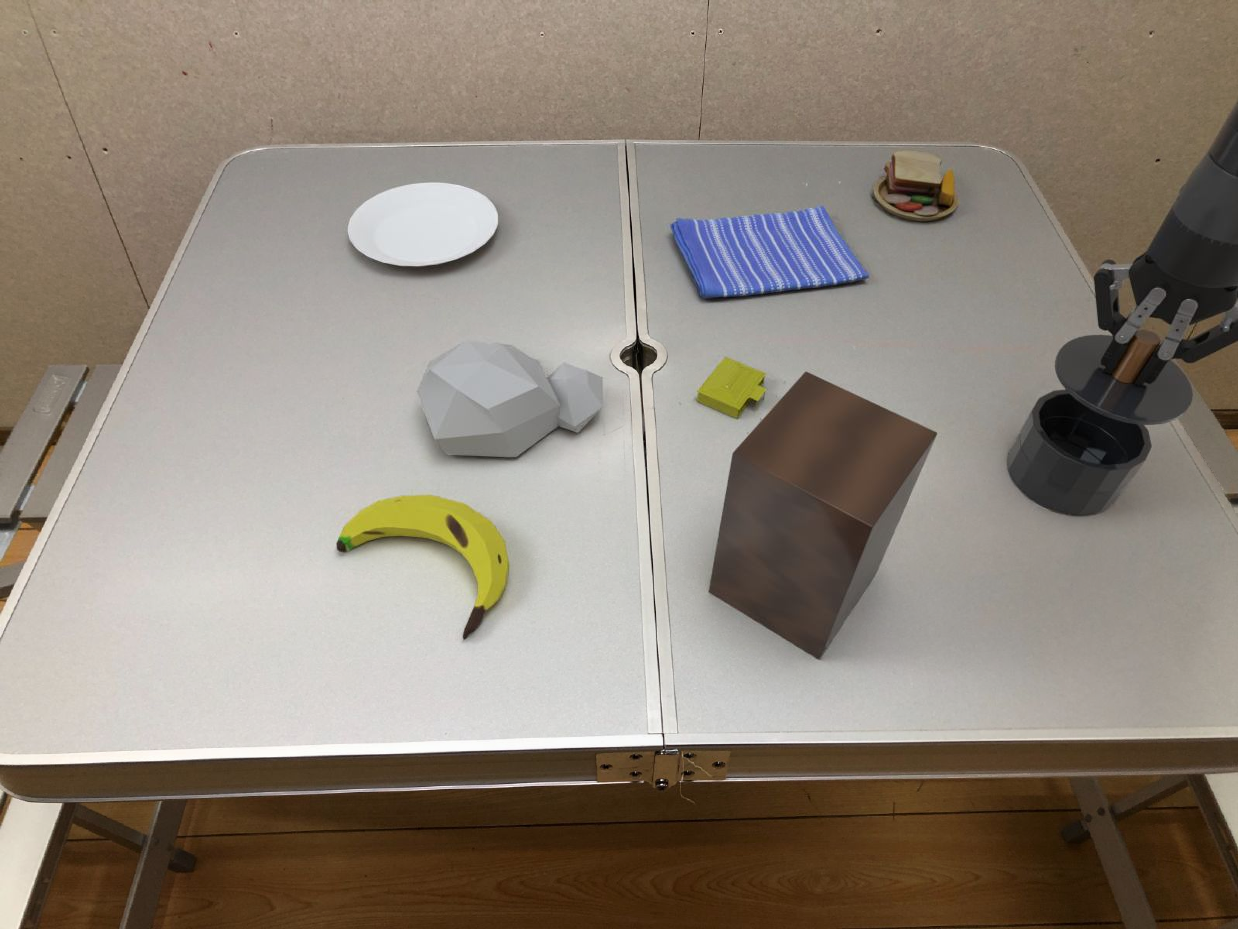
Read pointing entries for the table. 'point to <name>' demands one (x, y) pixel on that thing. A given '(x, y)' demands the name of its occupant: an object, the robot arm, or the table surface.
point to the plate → (423, 224)
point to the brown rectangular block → (814, 509)
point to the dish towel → (765, 253)
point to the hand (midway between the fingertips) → (1124, 374)
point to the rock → (502, 399)
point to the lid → (1123, 380)
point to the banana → (439, 539)
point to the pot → (1075, 456)
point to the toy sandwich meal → (916, 187)
